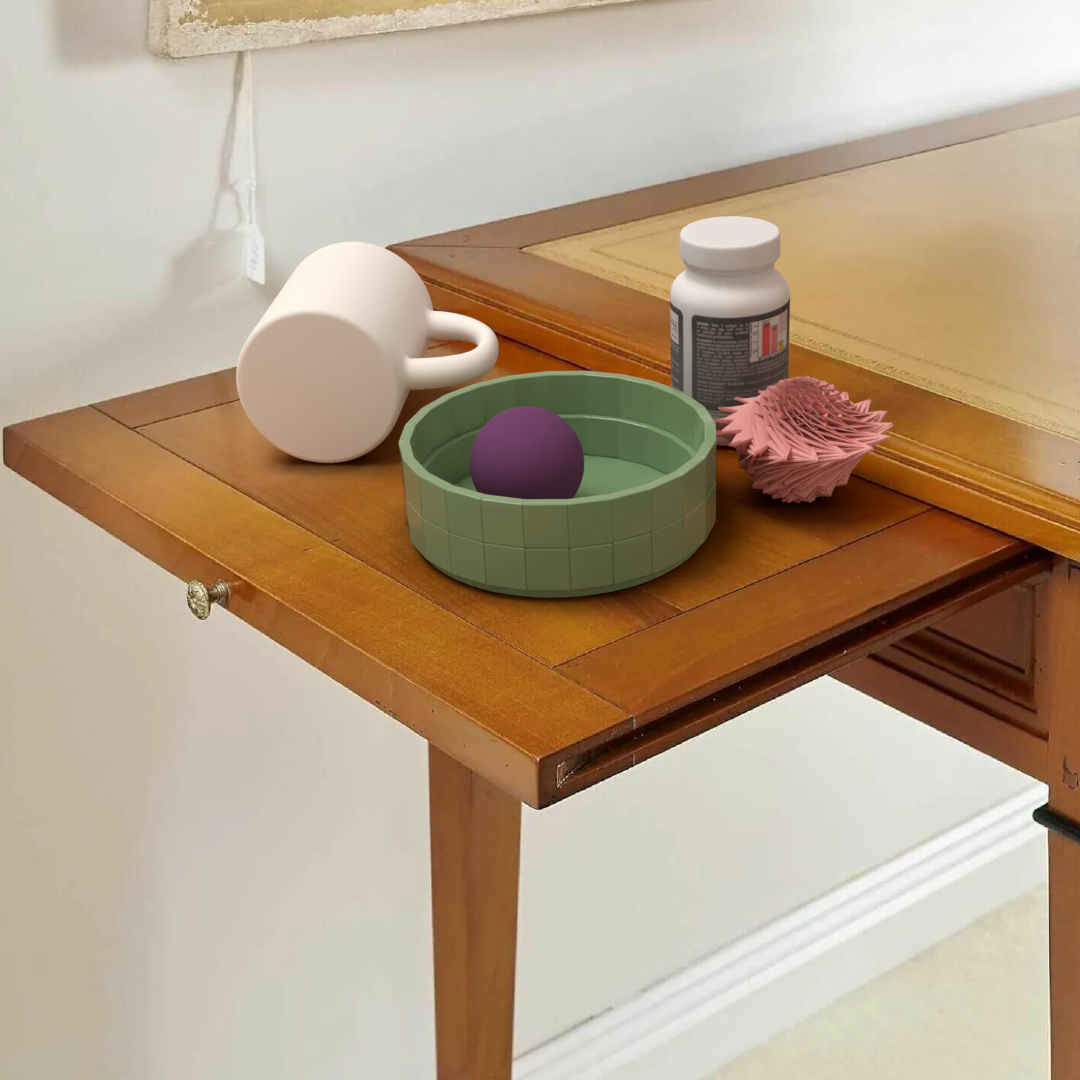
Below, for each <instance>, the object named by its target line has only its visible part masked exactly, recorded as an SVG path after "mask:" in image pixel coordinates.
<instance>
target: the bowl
mask: <svg viewBox="0 0 1080 1080" xmlns="http://www.w3.org/2000/svg"><path fill="white" fill-rule="evenodd" d="M522 406H532V407H539V408H543V409H546V410H549V411H551V412H553V413H555V414H557V415H558V416H560V417H561V418H562V419H564V420H565V421H566V422H567V423H568V424H569V425H570V426H571V428H572V429H573V430H574V431H575V433H576V435H577V436H578V438H579V441H580V443H581V446H582V449H583V453H584V473H583V478H582V481H581V485H580V487H579V489H578V491H577V493H576V494H575V496H574V497H573V498H572V499H519V498H511V497H503V496H495V495H487V494H483V493H480V492H477V490H476V488H475V486H474V484H473V481H472V478H471V472H470V455H471V450H472V446H473V443H474V441H475V439H476V437H477V435H478V433H479V432H480V430H481V429H482V427H483V426H484V425H485V424H486V423H487V422H488V421H489V420H490V419H492V418H493V417H494V416H496V415H497V414H499V413H501V412H503V411H505V410H508V409H511V408H515V407H522ZM398 453H399V462H400V472H401V482H402V491H403V492H402V494H403V502H404V514H405V515H404V516H405V524H406V527H407V532H408V536H409V540H410V543H411V544H412V545H413V546H414V547H415V549H416V550H417V551H418V552H419V553H420V555H422V556H423V558H424V559H425V560H427V561H428V562H429V563H430V564H431V565H432V566H433V567H434V568H435V569H436V570H438V571H440V573H443V574H444V575H446V576H448V577H450V578H451V579H454V580H456V581H458V582H460V583H463V584H466V585H468V586H471V587H474V588H478V589H481V590H485V591H488V592H491V593H497V594H503V595H508V596H515V597H518V596H519V597H525V598H541V599H542V598H545V599H547V598H548V599H550V598H551V599H555V598H556V599H558V598H578V597H586V596H594V595H601V594H606V593H607V594H608V593H612V592H617V591H621V590H625V589H630V588H632V587H636V586H638V585H641V584H642V585H643V584H645V583H648V582H650V581H652V580H655V579H657V578H659V577H661V576H664V575H666V574H667V573H669V572H671V571H673V570H675V569H677V568H678V567H679V566H681V565H682V564H684V563H685V562H686V561H688V560H689V559H690V558H691V557H692V556H693V555H694V554H695V553H696V552H697V551H698V549H700V547H701V546H702V545H703V544H704V543H705V541H706V540H707V538H708V537H709V534H710V532H711V531H712V529H713V528H714V525H715V523H716V520H717V519H716V518H717V445H716V423H715V421H714V420H713V418H712V417H711V415H710V414H709V412H708V411H707V409H706V408H705V407H704V406H703V405H702V404H700V403H699V402H697V401H696V400H695V399H693V398H692V397H690V396H689V395H687V394H686V393H684V392H682V391H679V390H677V389H674V388H672V387H671V386H669V385H667V384H664V383H661V382H660V381H659V382H658V381H656V380H652V379H647V378H643V377H639V376H638V377H637V376H633V375H629V374H623V373H614V372H603V371H595V370H594V371H593V370H545V371H538V372H529V373H527V372H526V373H521V374H520V373H518V374H512V375H511V374H510V375H506V376H501V377H497V378H493V379H489V380H488V379H487V380H484V381H480V382H476V383H473V384H470V385H468V386H464V387H462V388H459V389H456V390H454V391H451V392H448V393H445V394H444V395H442V396H440V397H438V398H437V399H435V400H433V401H431V402H430V403H428V404H426V405H424V406H423V407H421V408H420V409H419V410H418V411H416V413H415V414H414V415H413V416H412V417H410V419H409V420H408V421H407V422H406V423H405V424H404V426H403V429H402V432H401V434H400V437H399V440H398Z"/></svg>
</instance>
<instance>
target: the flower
mask: <svg viewBox="0 0 1080 1080" xmlns="http://www.w3.org/2000/svg"><path fill="white" fill-rule="evenodd" d="M758 392H759V393H760V395H759V396H757V397H753V398H740V397H735V398H734V400H737V401H740V402H741V403H742V404H743V405H740V406H734V407H718V409H719V410H720V411H724V412H726V413H728V414H730V416H728V417H726V418H723V419H713V420H714V421H715V422H718V423H719V424H721V425H722V426H723V427H725V428H724V429H723V430H721V431H716V435H719V436H721V437H722V438H724V439H726V440H728V441H730V442H731V443H730V444H729V446H728V447H732V448H735V450H736V454H737V461H738V462H737V465H738V467H739V468H738V469H742V470H744V471H745V474H747V475H749V477H751V479H750V481H751V482H753V483H752V486H751V487H752V489H757V490H762V492H761V494H766V495H770V497H771V500H775V499H776V500H777V499H781V503H788V504H789V503H792V502H794V503H796V504H800V503H801V502H805V503H806V502H807V503H810V504H812V503H813V502H815V500H816V498H820V497H831V496H832V494H833V491H834V489H835V487H842V486H847V484H848V481H849V479H850V475H851V473H852V471H853V469H856V468H857V465H858V464H859V462H861V460H862V459H863V458H864V457H865V455H867V453H870V452H873V451H875V448H874V447H875V446H877V445H879V444H881V443H883V442H885V441H887V440H889V439H890V438H891V436H890V435H887V434H885V433H886V432H888V431H890V430H891V429H893V428H894V427H895V425H894V423H893V422H882V421H883V420H884V419H885V417H886V416H887V414H888V410H883V409H882V410H875V411H869V410H870V406H871V403H872V400H871V398H868V399H865V400H861V401H859V402H855V403H854V402H853V401H851V400H850V397H849V392H848V391H845V390H844V391H843V392H841V393H840V391H839V390H838V389H836V387H835V384H830V383H829V382H828V381H827V380H821V379H819V378H815V377H810V376H809V375H806V376H794V377H790V378H788V379H784V380H780V381H779V382H778V383H777V384H775V385H774V386H768V387H767V389H766V390H764V391H763V390H762V391H761V390H758Z"/></svg>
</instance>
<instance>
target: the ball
mask: <svg viewBox="0 0 1080 1080" xmlns="http://www.w3.org/2000/svg"><path fill="white" fill-rule="evenodd" d="M470 472H471V478H472V481H473V484H474V486H475V488H476V490H477V492H480V493H483V494H487V495H495V496H503V497H511V498H519V499H572V498H573V497H574V496H575V494H576V493H577V491H578V489H579V487H580V485H581V481H582V478H583V473H584V453H583V449H582V446H581V443H580V441H579V438H578V436H577V435H576V433H575V431H574V430H573V429H572V428H571V426H570V425H569V424H568V423H567V422H566V421H565V420H564V419H562V418H561V417H560V416H558V415H557V414H555V413H553V412H551V411H549V410H546V409H543V408H539V407H532V406H522V407H515V408H511V409H508V410H505V411H503V412H501V413H499V414H497V415H496V416H494V417H493V418H492V419H490V420H489V421H488V422H487V423H486V424H485V425H484V426H483V427H482V429H481V430H480V432H479V433H478V435H477V437H476V439H475V441H474V443H473V446H472V450H471V455H470Z"/></svg>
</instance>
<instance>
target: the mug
mask: <svg viewBox="0 0 1080 1080" xmlns="http://www.w3.org/2000/svg"><path fill="white" fill-rule="evenodd" d="M431 341H459V342H460V341H463V342H467V343H471V344H473V345H475V346H476V347H475V348H474V349H471V350H470V351H467V352H463V353H459V354H452V355H446V356H436V357H425V356H426V353H427V351H428V349H429V347H430V345H431ZM499 351H500V347H499V341H498V338H497V335H496V333H495V332H494V331H493V330H492V329H491V328H490V326H488V325H487V324H485V323H484V322H482V321H480V320H478V319H476V318H474V317H470V316H467V315H465V314H460V313H455V312H449V311H441V310H434V306H433V303H432V299H431V296H430V293H429V291H428V288H427V286H426V285H425V283H424V281H423V279H422V278H421V276H420V275H419V274H418V272H417V271H415V269H414V268H413V267H412V266H411V265H410V264H409V263H408V262H407V261H406V260H405V259H404V258H402V257H400V256H399V255H397V254H396V253H395V252H393V251H391V250H389V249H387V248H385V247H382V246H379V245H377V244H373V243H369V242H364V241H342V242H337V243H332V244H328V245H326V246H323V247H321V248H319V249H317V250H316V251H314V252H312V253H310V254H309V255H308V256H307V257H305V258H304V259H303V260H302V261H301V262H300V263H299V264H298V265H297V267H296V268H295V269H294V271H293V272H292V274H291V275H290V277H288V280H287V281H286V282H285V283H284V285H283V286H282V288H281V289H280V291H279V292H278V294H277V295H276V297H275V298H274V299H273V301H272V302H271V304H270V305H269V307H268V308H267V310H266V311H265V312H264V314H263V315H262V317H261V318H260V319H259V322H258V323H257V324H256V325H255V327H254V328H253V330H252V331H251V333H250V334H249V336H248V337H247V338H246V340H245V342H244V344H243V346H242V348H241V350H240V353H239V356H238V360H237V363H236V372H235V373H236V374H235V381H236V389H237V390H236V391H237V394H238V398H239V401H240V404H241V407H242V409H243V411H244V414H245V415H246V417H247V419H248V420H249V422H250V423H251V425H252V426H253V428H254V429H255V430H256V431H257V432H258V433H259V435H261V436H262V437H263V439H265V440H266V441H267V442H268V443H270V444H271V445H272V446H274V447H275V448H276V449H278V450H280V451H282V452H284V453H285V454H287V455H290V456H292V457H294V458H296V459H300V460H304V461H307V462H313V463H319V464H335V463H337V464H338V463H344V462H349V461H353V460H355V459H358V458H360V457H362V456H364V455H366V454H368V453H370V452H372V451H373V450H375V449H376V448H377V447H378V446H379V445H380V444H382V443H383V442H384V441H385V440H386V439H387V437H388V436H389V435H390V433H391V432H392V431H393V429H394V427H395V426H396V423H397V421H398V420H399V417H400V414H401V412H402V410H403V408H404V406H405V403H406V401H407V398H408V396H409V393H410V392H411V391H418V390H419V391H420V390H432V389H433V390H434V389H442V388H448V387H453V386H459V385H463V384H467V383H470V382H474V381H476V380H478V379H480V378H483V377H484V376H486V375H487V374H488V373H490V372H491V371H492V369H493V368H494V367H495V365H496V363H497V361H498V359H499Z"/></svg>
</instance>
